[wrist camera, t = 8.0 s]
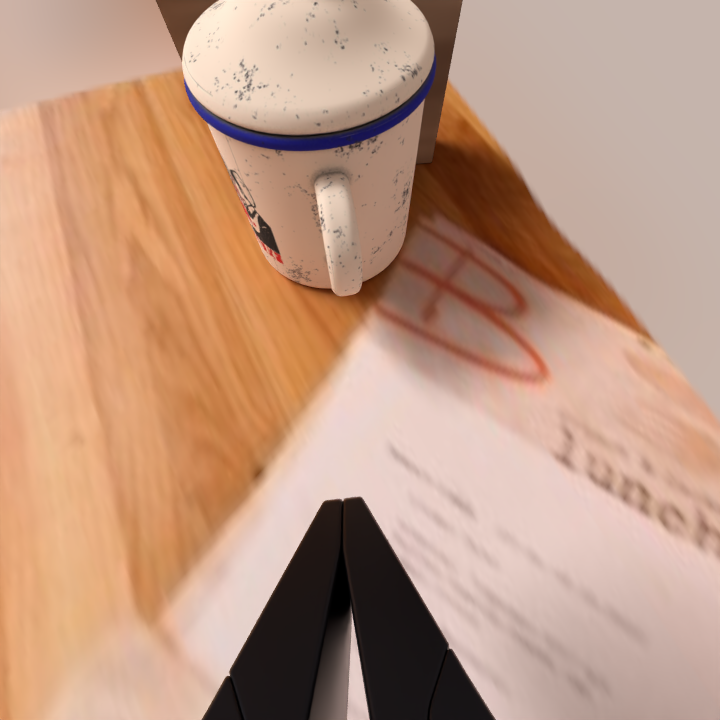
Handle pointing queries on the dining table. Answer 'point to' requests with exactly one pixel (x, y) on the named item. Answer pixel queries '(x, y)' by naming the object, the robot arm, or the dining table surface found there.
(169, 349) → the dining table surface
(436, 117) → the bookend
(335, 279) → the teacup with lid
